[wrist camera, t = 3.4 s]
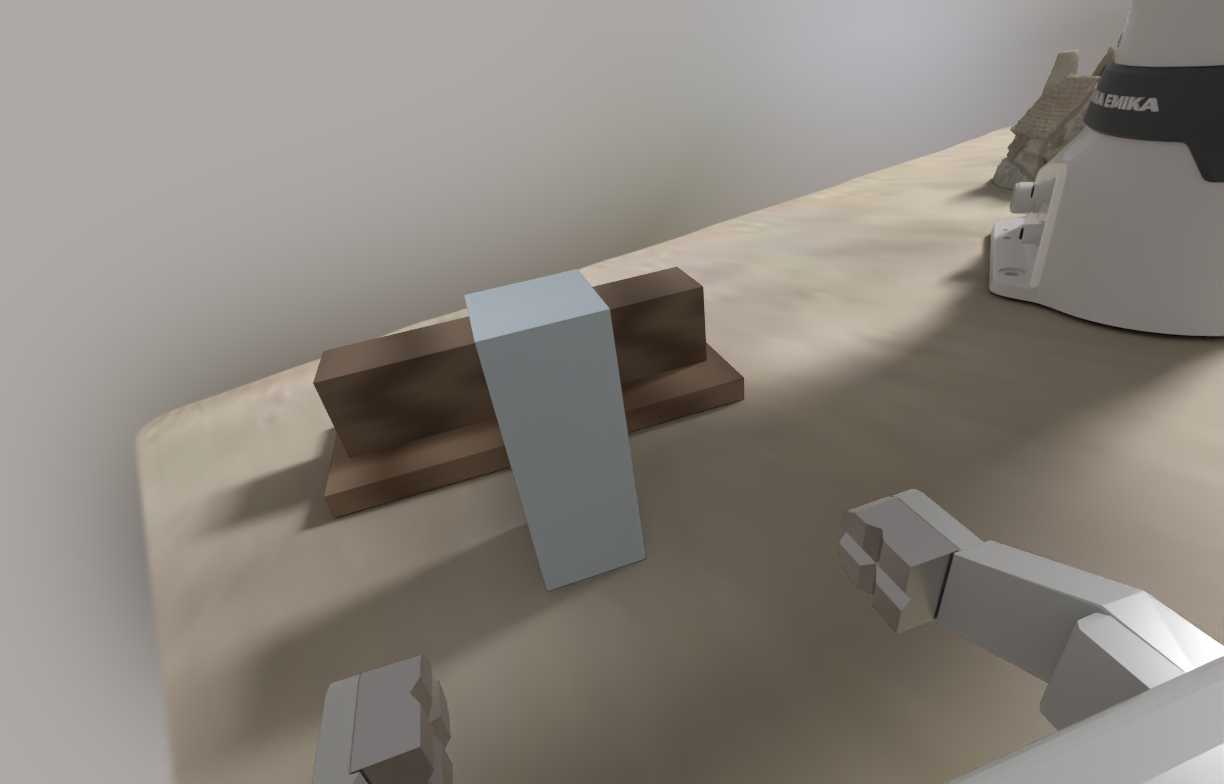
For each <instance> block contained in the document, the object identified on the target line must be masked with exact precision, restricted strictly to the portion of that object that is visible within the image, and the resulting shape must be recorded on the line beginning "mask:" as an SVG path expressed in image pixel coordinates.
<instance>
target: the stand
mask: <svg viewBox="0 0 1224 784" xmlns="http://www.w3.org/2000/svg"><path fill="white" fill-rule="evenodd" d="M592 288H593V289H594V290H595V291H596V293H597V294H598V295H599V296H600V297H601V299H602V300H603V301H604V302H605V304H606V305H607V306H608V307H609V309H610V314H611V321H612V328H613V334H614V341H615V348H616V355H617V362H618V369H619V376H620V383H621V390H622V397H623V403H624V410H625V417H626V424H627V431H628V432H632V431H635V430H639V429H642V428H645V427H649V426H652V425H656V424H659V423H663V422H666V421H669V420H673V419H676V418H680V417H683V416H687V415H690V414H694V413H697V412H700V411H704V410H707V409H711V408H714V407H718V406H721V405H724V404H728V403H731V402H735V401H738V400H742V399H744V377H743V376H742V375H740V374H739V373H738V372H737V371H736V370H735V369H734V368H733V367H732V366H731V365H730V364H729V363H728V362H727V361H725V360H724V359H723V358H722V357H721V356H720V355H719V354H718V353H717V352H716V351H715V350H714V349H713V348H712V347H711V346H709V345H708V344H707V343H706V335H705V315H704V295H703V286H702V285H700V284H699V283H698V282H696V281H695V280H694V279H692V278H691V277H690V276H688V275H687V274H686V273H684V272H683V271H682V270H680V269H679V268H678V267H674V268H670V269H666V270H662V271H658V272H653V273H649V274H645V275H641V276H637V277H632V278H628V279H624V280H620V281H616V282H611V283H607V284H603V285H599V286H595V287H592ZM313 384H314V386H315V388H316V390H317V392H318V394H319V396H320V398H321V400H322V402H323V404H324V406H325V409H326V411H327V413H328V415H329V417H330V419H331V421H332V423H333V425H334V427H335V429H336V431H337V437H336V442H335V447H334V451H333V456H332V461H331V465H330V470H329V475H328V480H327V484H326V489H325V494H324V498H325V500H326V502H327V504H328V505H329V507H330V509H331V511H332V513H333V515H334V517H335V518H336V517H339V516H343V515H346V514H350V513H353V512H357V511H360V510H363V509H367V508H370V507H374V506H377V505H381V504H384V503H388V502H391V501H394V500H398V499H401V498H405V497H408V496H412V495H415V494H418V493H422V492H425V491H429V490H432V489H436V488H439V487H443V486H446V485H449V484H453V483H456V482H460V481H463V480H467V479H470V478H474V477H477V476H480V475H484V474H487V473H491V472H494V471H498V470H501V469H504V468H508V467H511V465H510V462H509V458H508V455H507V451H506V448H505V444H504V441H503V437H502V434H501V431H500V427H499V424H498V420H497V417H496V413H495V410H494V407H493V403H492V400H491V396H490V393H489V389H488V386H487V382H486V379H485V376H484V372H483V369H482V365H481V362H480V358H479V355H478V352H477V348H476V345H475V341H474V336H473V332H472V327H471V323H470V318H469V317H465V318H460V319H456V320H452V321H448V322H444V323H439V324H435V325H431V326H427V327H423V328H419V329H414V330H410V331H406V332H402V333H398V334H393V335H389V336H385V337H381V338H377V339H372V340H368V341H364V342H360V343H356V344H352V345H347V346H343V347H339V348H335V349H331V350H327V351H324V352H323V355H322V358H321V361H320V364H319V367H318V370H317V373H316V376H315V379H314V382H313Z"/></svg>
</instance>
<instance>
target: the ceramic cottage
mask: <svg viewBox="0 0 1224 784" xmlns="http://www.w3.org/2000/svg"><path fill="white" fill-rule="evenodd" d="M1122 35H1123V33H1122V34H1121V37H1120V38H1119V40H1118V46H1117V47H1110V48H1109V50H1108V53H1107V54H1106V55H1105V56H1104V58H1103V59H1102V61H1101V62H1100V63H1099V65H1098V66H1097V68H1096V70H1095V71H1094V73H1093V75H1092V76H1091V77H1088V76H1078V75H1077V68H1078V61H1079V53H1078V50H1070V51H1062V52H1060V53H1059V54H1058V56H1057V59H1056V62H1055V65H1054V67H1053V69H1052V72H1051V74H1050V76H1049V78H1048V80H1047V82H1046V85H1045V87H1044V90H1043V93H1042V96H1041V97H1040V98H1039V99H1038V101H1037V102H1036V103H1035V104H1034V105H1033V107H1032V108H1030V109H1029V110H1028V111H1027V113H1026V115H1024V116H1023V117H1022V118H1021V119H1020V120H1019V121H1018V124H1017V125H1015V126H1014V127H1012V128H1011V129H1010V130H1011V131H1012V132H1013V133H1014V134H1015V135H1016V136H1015V138H1014V140H1013V142H1012V143H1011V144H1010V145H1009V146H1008V149H1009V152H1008V154H1007V157H1006V158H1005V159H1002V162H1001V163H1000V165H998V167H997V170H996V173H995V175H994V177H993V179H992V183H993V184H995V185H997V186H1000V187H1003V188H1007V189H1011V190H1013V189H1014V186H1015V184H1016V183H1019V182H1035V180H1036V177H1037V174H1038V172H1039V170H1040V169H1041V168H1042V167H1043V166H1044V165H1045V164H1046V163H1048V162H1049V161H1050V160H1051V159H1052V158H1053V157H1054V156H1055V155H1057V154H1058V153H1059V152H1060V151H1061V150H1062V149H1063V148H1064V147H1065V146H1066V145H1067V144H1068V143H1069V142H1071V141H1072V140H1073V139H1074V138H1075V137H1076V136H1077V135H1078V134H1079V133H1080V132H1081V131H1082V130H1083V128H1084V127H1085V125H1086V124H1085V123H1084V122H1083V118H1084V115H1085V113H1086V111H1087V109H1088V106H1089V104H1090V102H1091V99H1090V97H1091V95H1092V92H1093V90H1094V88H1095V86H1096V85H1098V83H1099V81H1100V79H1101V77H1102V74H1103V72H1104V70H1105V68H1106V66H1107V65H1108V64H1110V63H1111V62H1113V61H1115V59H1116V56H1117V53H1118V49H1119V46H1120V42H1121V39H1122Z"/></svg>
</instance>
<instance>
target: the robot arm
mask: <svg viewBox="0 0 1224 784" xmlns="http://www.w3.org/2000/svg"><path fill="white" fill-rule="evenodd" d="M1090 99H1091V102H1090V104H1089V106H1088V109H1087V111H1086V113H1085V115H1084V118H1083V122H1084V123H1085V124H1086V125H1085V127H1084V128H1083V130H1082V131H1081V132H1080V133H1079V134H1078V135H1077V136H1076V137H1075V138H1074V139H1073V140H1072V141H1071V142H1069V143H1068V144H1067V145H1066V146H1065V147H1064V148H1063V149H1062V150H1061V151H1060V152H1059V153H1058V154H1057V155H1055V156H1054V157H1053V158H1052V159H1051V160H1050V161H1049V162H1048V163H1046V164H1045V165H1044V166H1043V167H1042V168H1041V169H1040V170H1039V172H1038V174H1037V177H1036V180H1035V182H1019V183H1016V184H1015V186H1014V189H1013V193H1012V198H1011V203H1010V213H1012V214H1025V213H1026V216H1024V217H1017V218H1011V219H1007V220H1002V221H998V222H996V223H995V224H994V226H993V229H992V232H991V237H990V271H989V290H990V291H991V292H993V293H995V294H998V295H1001V296H1005V297H1010V298H1015V299H1020V300H1025V301H1030V302H1035V303H1039V304H1042V305H1045V306H1048V307H1051V308H1053V309H1056V310H1059V311H1061V312H1064V313H1067V314H1070V315H1073V316H1076V317H1079V318H1083V319H1086V320H1090V321H1094V322H1098V323H1102V324H1107V325H1111V326H1116V327H1121V328H1127V329H1133V330H1140V331H1147V332H1155V333H1164V334H1176V335H1192V336H1224V0H1132V2H1131V5H1130V9H1129V13H1128V17H1127V21H1126V24H1125V28H1124V31H1123V35H1122V39H1121V42H1120V46H1119V49H1118V53H1117V56H1116V59H1115V61H1113V62H1111V63H1110V64H1108V65H1107V66H1106V68H1105V70H1104V72H1103V74H1102V77H1101V79H1100V81H1099V83H1098V85H1096V86H1095V88H1094V90H1093V92H1092V95H1091V97H1090ZM841 527H842V528H843V529H844V530H845V531H846V533H845V535H844V536H843V537H842V539H841V540H840V542H839V549H838V556H839V559H840V562H841V566H842V568H843V570H844V572H845V574H846V575H847V577H848V578H849V580H850V581H851V582H852V583H853V584H854V586H855V587H856V588H857V589H859V590H862V591H864V592H866V593H869V594H871V596H872V607H873V608H874V609H875V610H876V611H877V612H878V613H879V615H880V616H881V617H882V618H883V619H884V620H885V621H886V623H887V624H888V625H889V626H890V627H891V628H892V629H893V631H894V632H895V633H896V634H898V633H901V632H904V631H907V630H909V629H912V628H915V627H918V626H921V625H924V624H926V623H929V622H932V621H935V620H936V623H937V624H939V625H941V626H943V627H945V628H947V629H949V630H950V631H952V632H954V633H956V634H958V635H960V636H962V637H963V638H965V639H967V640H969V641H971V642H973V643H975V644H976V645H978V646H980V647H982V648H984V649H986V650H988V651H989V652H991V653H993V654H995V655H997V656H999V657H1001V658H1002V659H1004V660H1006V661H1008V662H1010V663H1012V664H1014V665H1016V666H1017V667H1019V668H1021V669H1023V670H1025V671H1027V672H1029V673H1030V674H1032V675H1034V676H1036V677H1038V678H1040V679H1042V680H1043V681H1045V682H1047V683H1049V684H1048V686H1047V688H1046V690H1045V692H1044V694H1043V697H1042V699H1041V701H1040V712H1041V713H1042V714H1043V715H1044V716H1045V717H1046V719H1047V720H1048V721H1049V722H1050V723H1051V724H1052V725H1053V726H1054V727H1055V728H1056V729H1057V730H1058V731H1057V732H1055V733H1053V734H1050V735H1048V736H1046V737H1044V738H1042V739H1040V740H1037V741H1035V742H1033V743H1031V744H1029V745H1026V746H1024V747H1022V748H1020V749H1018V750H1015V751H1013V752H1011V753H1009V754H1007V755H1004V756H1002V757H1000V758H998V759H996V760H994V761H991V762H989V763H987V764H985V765H983V766H980V767H978V768H976V769H974V770H972V771H969V772H967V773H965V774H963V775H961V776H958V777H956V778H954V779H952V780H950V781H947V782H945V783H943V784H1224V647H1223V646H1222V645H1221V644H1219V643H1218V642H1216V641H1215V640H1213V639H1212V638H1211V637H1209V636H1208V635H1206V634H1205V633H1203V632H1202V631H1201V630H1199V629H1198V628H1196V627H1195V626H1194V625H1192V624H1191V623H1189V622H1188V621H1186V620H1185V619H1184V618H1182V617H1181V616H1179V615H1178V614H1177V613H1175V612H1174V611H1172V610H1171V609H1169V608H1168V607H1167V606H1165V605H1164V604H1162V603H1161V602H1159V601H1158V600H1157V599H1155V598H1154V597H1152V596H1151V595H1150V594H1148V593H1147V592H1145V591H1143V590H1140V589H1137V588H1134V587H1131V586H1128V585H1125V584H1122V583H1119V582H1116V581H1113V580H1110V579H1107V578H1104V577H1101V576H1098V575H1095V574H1092V573H1089V572H1086V571H1083V570H1080V569H1077V568H1074V567H1071V566H1068V565H1065V564H1062V563H1059V562H1056V561H1053V560H1050V559H1047V558H1044V557H1041V556H1038V555H1035V554H1032V553H1029V552H1026V551H1022V550H1019V549H1016V548H1013V547H1010V546H1007V545H1004V544H1001V543H998V542H995V541H992V540H989V541H986V542H983V541H982V540H981V539H980V538H978V537H977V536H976V535H975V534H973V533H972V532H971V531H970V530H968V529H967V528H966V527H965V526H963V525H962V524H961V523H960V522H958V521H957V520H956V519H955V518H954V517H952V516H951V515H950V514H949V513H947V512H946V511H945V510H944V509H942V508H941V507H940V506H939V505H937V504H936V503H935V502H934V501H932V500H931V499H930V498H929V497H928V496H926V495H925V494H924V493H923V492H921V491H919V490H916V489H910V490H907V491H904V492H901V493H898V494H895V495H892V496H890V497H884V498H882V499H879V500H876V501H873V502H870V503H867V504H865V505H862V506H859V507H856V508H853V509H850V510H848V511H846V512H845V513H844V514H843V516H842V520H841ZM450 738H451V733H450V719H449V713H448V707H447V702H446V698H445V695H444V692H443V689H442V687H441V685H440V682H439V681H437V680H435V679H432V669H431V664H430V662H429V660H428V658H427V656H426V654H422V655H419V656H416V657H412V658H409V659H406V660H403V661H399V662H396V663H393V664H390V665H386V666H383V667H380V668H377V669H373V670H370V671H367V672H364V673H361V674H358V675H355V676H352V677H348V678H345V679H342V680H339V681H336V682H333V683H331V684H330V686H329V688H328V690H327V692H326V694H325V700H324V707H323V714H322V720H321V727H320V733H319V740H318V747H317V753H316V760H315V767H314V773H313V780H312V784H453V771H452V763H451V761H450V759H449V757H448V755H447V753H446V751H445V747H446V745H447V743H448V741H449V740H450Z"/></svg>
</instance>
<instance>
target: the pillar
mask: <svg viewBox="0 0 1224 784" xmlns="http://www.w3.org/2000/svg"><path fill="white" fill-rule="evenodd" d="M465 300H466V305H467V309H468V314H469V318H470V323H471V327H472V332H473V336H474V341H475V345H476V348H477V352H478V355H479V358H480V362H481V365H482V369H483V372H484V376H485V379H486V382H487V386H488V389H489V393H490V396H491V400H492V403H493V407H494V410H495V413H496V417H497V420H498V424H499V427H500V431H501V434H502V437H503V441H504V444H505V448H506V451H507V455H508V458H509V462H510V465H511V468H512V472H513V475H514V479H515V482H516V486H517V489H518V492H519V496H520V499H521V503H522V506H523V510H524V513H525V517H526V520H527V523H528V527H529V530H530V534H531V537H532V541H533V544H534V547H535V551H536V554H537V558H538V561H539V565H540V568H541V572H542V575H543V578H544V582H545V585H546V589H547V591H550V590H553V589H556V588H559V587H562V586H565V585H568V584H571V583H574V582H577V581H580V580H583V579H586V578H589V577H592V576H595V575H598V574H601V573H604V572H607V571H610V570H613V569H616V568H619V567H622V566H625V565H628V564H631V563H634V562H637V561H640V560H643V559H646V555H645V548H644V541H643V534H642V527H641V521H640V514H639V507H638V500H637V493H636V486H635V479H634V472H633V465H632V459H631V452H630V445H629V438H628V431H627V424H626V417H625V410H624V403H623V397H622V390H621V383H620V376H619V369H618V362H617V355H616V348H615V341H614V334H613V328H612V321H611V314H610V309H609V307H608V306H607V305H606V304H605V302H604V301H603V300H602V299H601V297H600V296H599V295H598V294H597V293H596V291H595V290H594V289H593V288H592V286H591V285H590V284H589V283H588V282H587V280H586V279H585V278H584V277H583V275H582V274H581V273H580V272H579V271H578V269H575V270H571V271H567V272H562V273H558V274H554V275H550V276H545V277H541V278H537V279H532V280H528V281H524V282H519V283H515V284H511V285H506V286H502V287H497V288H493V289H489V290H484V291H480V292H476V293H472V294H467V295H465Z"/></svg>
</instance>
